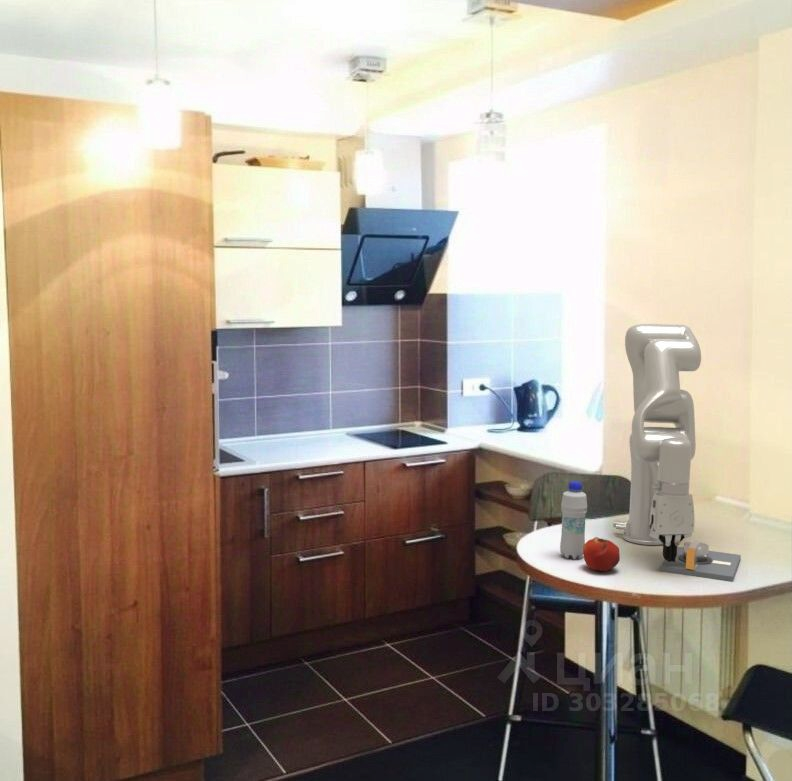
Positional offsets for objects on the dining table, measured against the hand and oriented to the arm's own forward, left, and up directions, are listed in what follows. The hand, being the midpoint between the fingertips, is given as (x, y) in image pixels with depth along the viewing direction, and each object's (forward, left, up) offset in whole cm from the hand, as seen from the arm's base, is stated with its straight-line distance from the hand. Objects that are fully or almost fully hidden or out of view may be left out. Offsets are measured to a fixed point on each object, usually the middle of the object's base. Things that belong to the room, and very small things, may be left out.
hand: (669, 560), depth 229 cm
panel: (+7, +8, -2) cm, 10 cm away
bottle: (-24, -1, -3) cm, 24 cm away
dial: (+5, +4, -1) cm, 7 cm away
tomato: (-15, -8, -3) cm, 18 cm away
